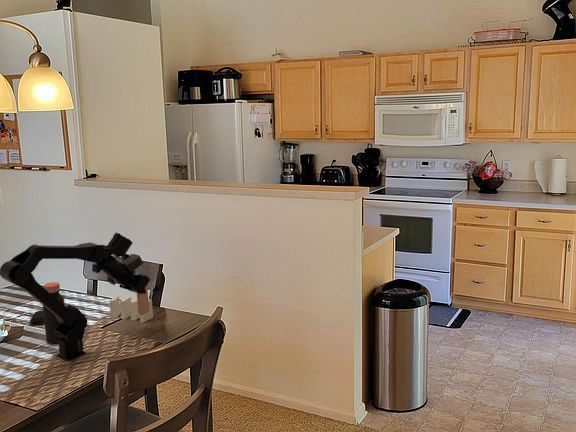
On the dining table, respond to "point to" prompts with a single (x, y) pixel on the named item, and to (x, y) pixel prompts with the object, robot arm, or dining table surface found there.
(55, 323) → the bottle
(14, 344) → the dining table surface
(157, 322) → the dining table surface
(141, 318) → the ivory domino
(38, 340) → the dining table surface
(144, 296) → the terracotta domino
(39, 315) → the carrying case or bag
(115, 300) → the ivory domino
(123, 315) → the ivory domino
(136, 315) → the ivory domino
